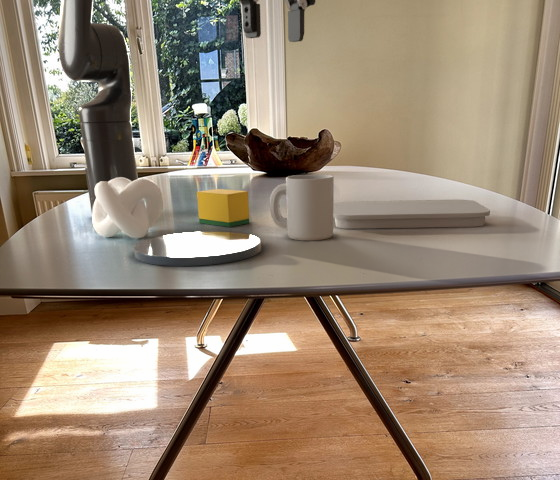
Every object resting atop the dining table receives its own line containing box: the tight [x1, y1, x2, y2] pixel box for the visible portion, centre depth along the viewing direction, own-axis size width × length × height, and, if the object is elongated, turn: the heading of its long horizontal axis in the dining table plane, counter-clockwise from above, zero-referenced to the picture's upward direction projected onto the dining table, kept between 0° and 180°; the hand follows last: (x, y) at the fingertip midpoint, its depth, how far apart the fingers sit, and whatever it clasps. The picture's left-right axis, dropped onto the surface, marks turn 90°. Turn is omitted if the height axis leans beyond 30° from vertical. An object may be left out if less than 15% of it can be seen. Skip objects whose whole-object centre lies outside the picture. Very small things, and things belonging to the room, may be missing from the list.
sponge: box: [196, 188, 250, 228], centre depth 107 cm, size 8×5×6 cm, turn 48°
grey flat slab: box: [333, 199, 491, 230], centre depth 104 cm, size 16×26×2 cm, turn 86°
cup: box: [269, 174, 335, 241], centre depth 92 cm, size 7×10×9 cm
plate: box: [133, 231, 262, 267], centre depth 85 cm, size 18×18×1 cm
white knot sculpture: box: [91, 177, 164, 239], centre depth 96 cm, size 11×12×9 cm
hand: (275, 39), depth 81 cm, fingers open, 8 cm apart
